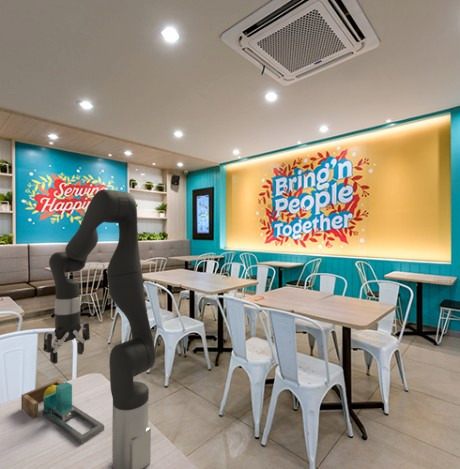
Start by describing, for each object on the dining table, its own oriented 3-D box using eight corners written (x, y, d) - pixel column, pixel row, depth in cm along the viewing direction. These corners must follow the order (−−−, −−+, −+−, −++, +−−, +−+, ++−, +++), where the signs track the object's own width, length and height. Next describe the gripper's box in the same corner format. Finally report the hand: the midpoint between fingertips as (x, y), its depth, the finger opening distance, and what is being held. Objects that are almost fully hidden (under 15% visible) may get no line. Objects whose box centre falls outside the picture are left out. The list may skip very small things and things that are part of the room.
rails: (104, 429, 91) (104, 425, 91) (81, 444, 85) (81, 439, 85) (64, 404, 104) (64, 399, 104) (42, 415, 98) (42, 410, 98)
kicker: (81, 412, 99) (81, 383, 99) (56, 426, 92) (56, 394, 92) (67, 404, 103) (68, 376, 103) (43, 416, 97) (43, 386, 97)
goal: (71, 400, 106) (71, 387, 106) (34, 419, 96) (34, 404, 96) (58, 392, 111) (58, 379, 111) (21, 409, 101) (21, 395, 101)
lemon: (52, 413, 98) (51, 389, 98) (39, 411, 100) (38, 388, 100) (65, 404, 104) (64, 381, 104) (53, 403, 105) (52, 380, 105)
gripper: (51, 317, 90) (51, 369, 90) (94, 307, 102) (94, 353, 102) (39, 313, 94) (39, 363, 94) (81, 304, 106) (81, 348, 106)
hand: (67, 358), depth 98 cm, fingers open, 8 cm apart
